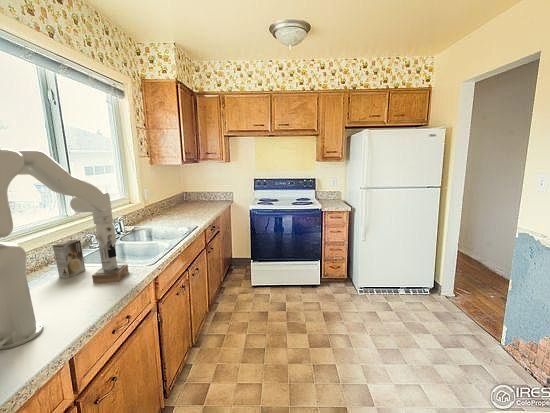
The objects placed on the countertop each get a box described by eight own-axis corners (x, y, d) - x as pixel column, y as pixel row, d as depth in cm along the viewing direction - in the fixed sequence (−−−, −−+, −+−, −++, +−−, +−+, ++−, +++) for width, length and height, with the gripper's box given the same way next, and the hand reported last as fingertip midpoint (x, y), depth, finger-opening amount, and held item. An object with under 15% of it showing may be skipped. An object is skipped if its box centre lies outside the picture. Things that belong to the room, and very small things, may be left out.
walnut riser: (118, 282, 127) (117, 273, 126) (93, 283, 126) (91, 274, 125) (128, 271, 138) (127, 263, 137) (105, 273, 136) (103, 265, 136)
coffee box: (75, 269, 142) (70, 239, 139) (85, 270, 141) (80, 240, 138) (58, 277, 133) (52, 245, 130) (69, 278, 132) (63, 246, 129)
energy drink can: (99, 271, 128) (94, 240, 125) (109, 266, 134) (105, 236, 131) (110, 272, 127) (106, 240, 124) (120, 266, 133) (116, 236, 130)
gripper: (120, 220, 124) (124, 256, 127) (104, 215, 134) (109, 249, 138) (101, 223, 118) (107, 261, 121) (86, 218, 129) (92, 253, 132)
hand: (108, 254), depth 129 cm, fingers open, 9 cm apart
